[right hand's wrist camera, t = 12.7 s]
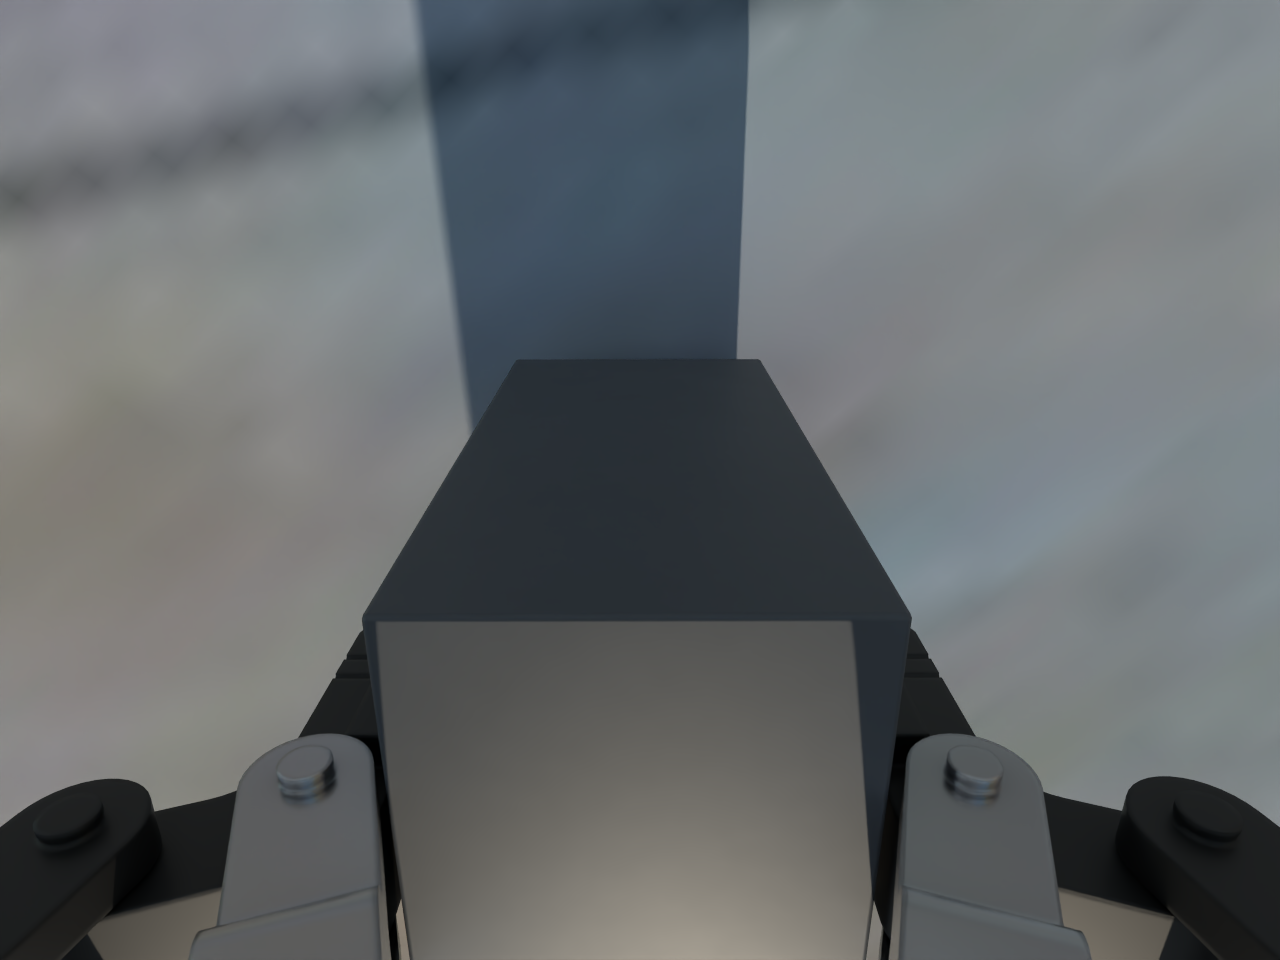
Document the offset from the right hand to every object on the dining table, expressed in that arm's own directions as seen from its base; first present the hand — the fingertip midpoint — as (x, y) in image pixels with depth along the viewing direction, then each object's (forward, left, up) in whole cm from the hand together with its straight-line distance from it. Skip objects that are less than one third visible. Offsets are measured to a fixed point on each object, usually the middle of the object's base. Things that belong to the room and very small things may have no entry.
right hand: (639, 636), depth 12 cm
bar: (+5, -10, -5) cm, 12 cm away
